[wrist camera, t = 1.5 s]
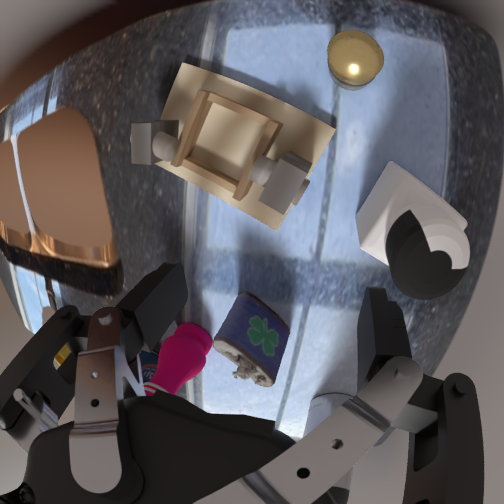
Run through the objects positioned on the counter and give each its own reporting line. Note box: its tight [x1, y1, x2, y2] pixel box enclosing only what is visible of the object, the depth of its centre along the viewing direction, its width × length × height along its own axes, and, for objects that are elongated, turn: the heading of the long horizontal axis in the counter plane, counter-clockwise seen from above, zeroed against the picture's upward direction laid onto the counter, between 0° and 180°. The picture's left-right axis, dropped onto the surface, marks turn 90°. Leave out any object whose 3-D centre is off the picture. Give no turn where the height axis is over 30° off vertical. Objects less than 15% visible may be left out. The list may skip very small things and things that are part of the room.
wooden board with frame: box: [130, 63, 336, 231], centre depth 23 cm, size 17×12×6 cm
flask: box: [213, 292, 290, 387], centre depth 31 cm, size 9×3×11 cm, turn 46°
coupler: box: [327, 30, 384, 90], centre depth 16 cm, size 4×4×7 cm
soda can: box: [139, 351, 159, 384], centre depth 45 cm, size 7×7×12 cm
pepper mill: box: [143, 323, 212, 396], centre depth 34 cm, size 7×7×20 cm
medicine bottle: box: [355, 161, 470, 300], centre depth 19 cm, size 7×7×12 cm
